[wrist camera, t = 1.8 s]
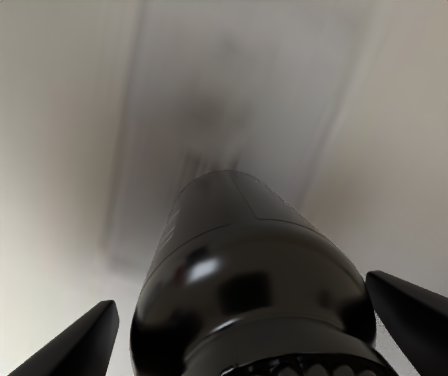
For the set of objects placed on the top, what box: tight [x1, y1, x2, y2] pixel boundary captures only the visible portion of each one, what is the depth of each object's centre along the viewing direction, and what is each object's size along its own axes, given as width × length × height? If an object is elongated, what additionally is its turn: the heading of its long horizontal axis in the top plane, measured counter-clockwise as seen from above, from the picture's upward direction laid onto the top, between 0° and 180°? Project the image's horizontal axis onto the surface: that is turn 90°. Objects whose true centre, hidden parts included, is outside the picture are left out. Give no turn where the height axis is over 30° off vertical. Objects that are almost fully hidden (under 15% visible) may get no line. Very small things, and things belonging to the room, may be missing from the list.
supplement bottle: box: [129, 170, 399, 376], centre depth 8 cm, size 7×7×12 cm
